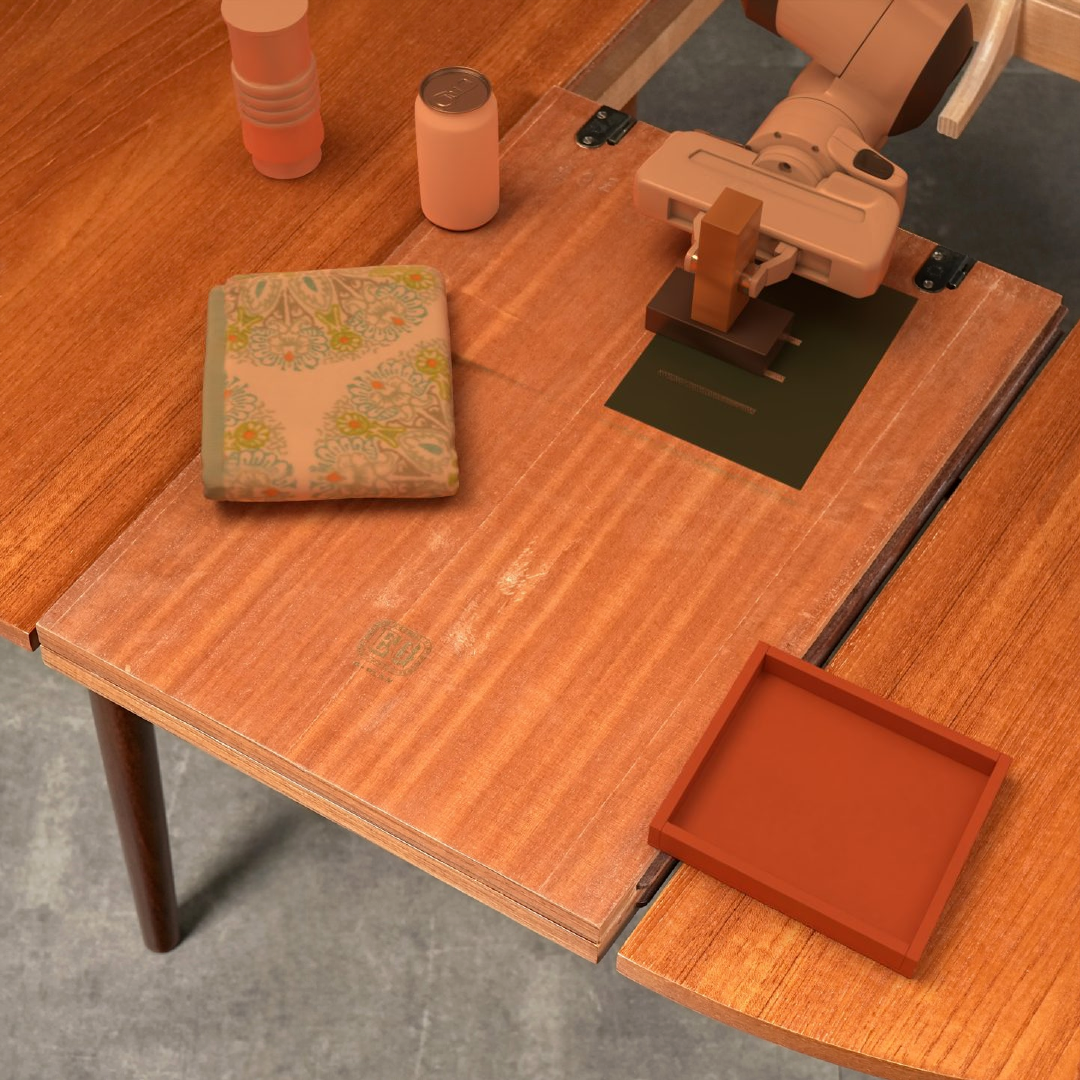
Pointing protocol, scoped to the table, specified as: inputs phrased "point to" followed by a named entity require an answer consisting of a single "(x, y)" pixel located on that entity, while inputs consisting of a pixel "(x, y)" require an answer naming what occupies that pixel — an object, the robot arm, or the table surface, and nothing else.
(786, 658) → the tray
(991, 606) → the table surface
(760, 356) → the duster
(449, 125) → the can
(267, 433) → the towel
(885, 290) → the slate board
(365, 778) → the table surface
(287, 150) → the pink ridged cylinder
